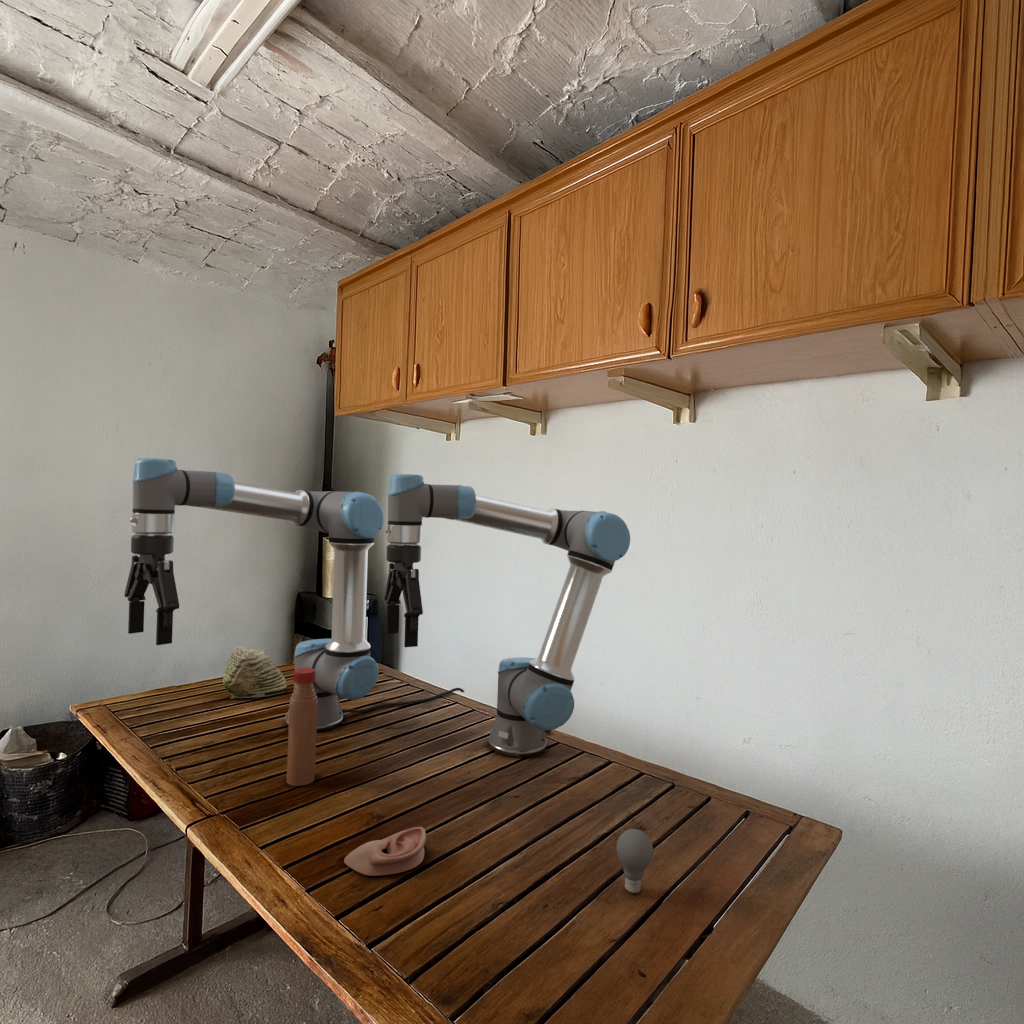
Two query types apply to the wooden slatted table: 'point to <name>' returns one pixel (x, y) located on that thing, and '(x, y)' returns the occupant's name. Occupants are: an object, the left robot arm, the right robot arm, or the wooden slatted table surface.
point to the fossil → (252, 674)
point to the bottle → (302, 735)
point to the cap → (304, 675)
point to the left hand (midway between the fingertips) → (149, 638)
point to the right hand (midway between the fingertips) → (401, 639)
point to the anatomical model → (389, 853)
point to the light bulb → (634, 857)
